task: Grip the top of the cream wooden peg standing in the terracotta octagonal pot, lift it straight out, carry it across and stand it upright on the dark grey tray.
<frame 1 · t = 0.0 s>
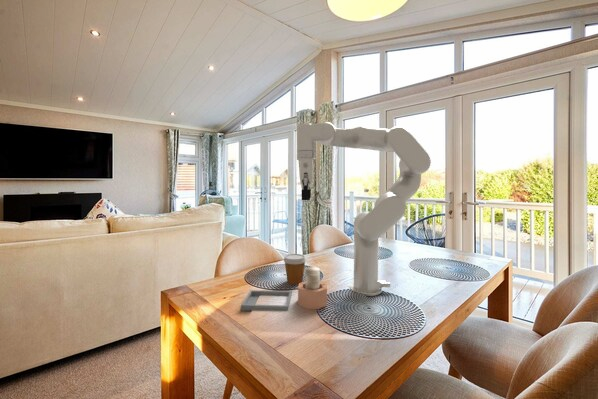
hand: (306, 199, 114), 37 cm above the table, tool pointing down, fingers open, 9 cm apart
disposable coffee cup: (294, 284, 121), on the table
peg: (312, 302, 101), point 1 cm above the table, touching terracotta octagonal pot
tray: (268, 303, 102), on the table
terracotta octagonal pot: (312, 305, 101), on the table
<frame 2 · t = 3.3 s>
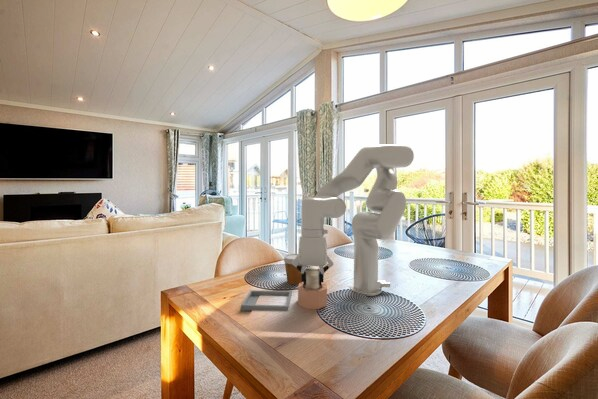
hand: (312, 283, 100), 8 cm above the table, tool pointing down, fingers closed on peg, 4 cm apart
peg: (312, 302, 101), point 1 cm above the table, touching terracotta octagonal pot, gripper
everything else where it was.
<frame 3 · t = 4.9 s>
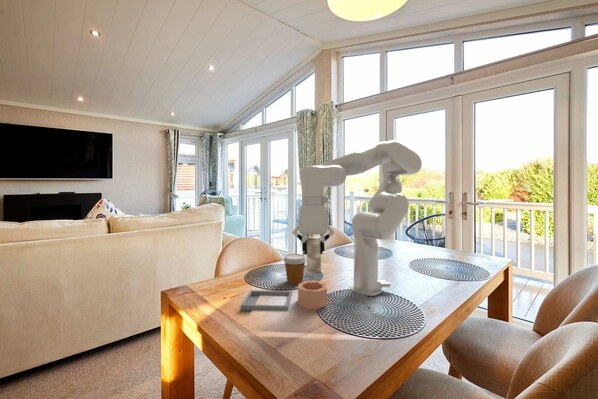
hand: (313, 252, 100), 19 cm above the table, tool pointing down, fingers closed on peg, 4 cm apart
peg: (313, 271, 100), point 12 cm above the table, touching gripper
everything else where it was.
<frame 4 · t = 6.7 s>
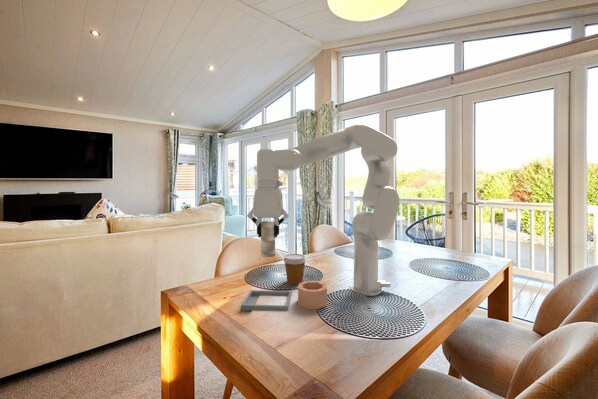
hand: (268, 236, 100), 25 cm above the table, tool pointing down, fingers closed on peg, 4 cm apart
peg: (268, 255, 101), point 18 cm above the table, touching gripper
everything else where it was.
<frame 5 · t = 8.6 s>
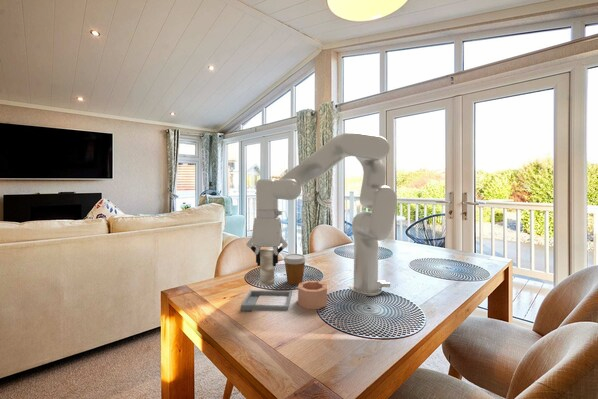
hand: (267, 264, 101), 14 cm above the table, tool pointing down, fingers closed on peg, 4 cm apart
peg: (267, 283, 101), point 8 cm above the table, touching gripper
everything else where it was.
when the fingers open (9 cm above the table, at t = 10.1 s): peg drops 1 cm, resting on tray.
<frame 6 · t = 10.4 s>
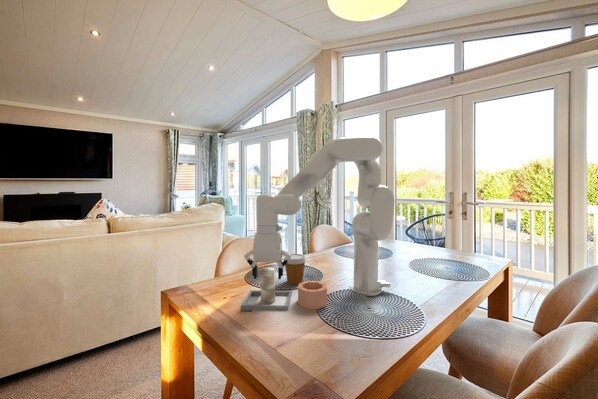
hand: (267, 277, 101), 10 cm above the table, tool pointing down, fingers open, 8 cm apart
peg: (267, 302, 102), point 1 cm above the table, touching tray
everything else where it was.
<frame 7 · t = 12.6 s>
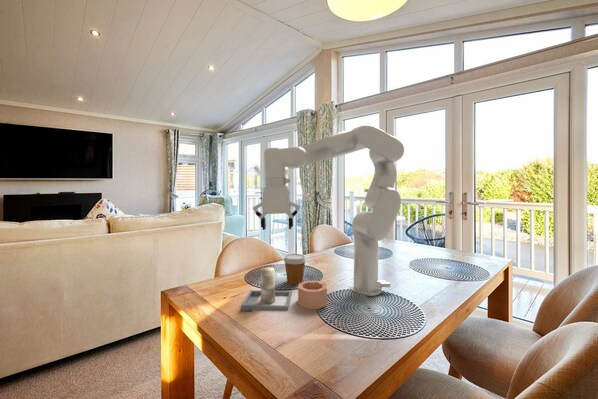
hand: (277, 228, 105), 26 cm above the table, tool pointing down, fingers open, 9 cm apart
nothing on the table moved.
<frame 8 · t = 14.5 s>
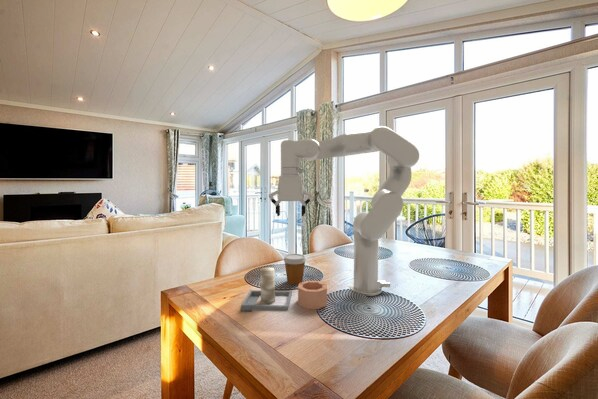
hand: (290, 215, 112), 30 cm above the table, tool pointing down, fingers open, 9 cm apart
nothing on the table moved.
at the end: peg inside the target area on the tray (0.0 cm from its centre), point 0.6 cm above the tray's base; peg tilted 0°; the gripper is holding nothing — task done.
